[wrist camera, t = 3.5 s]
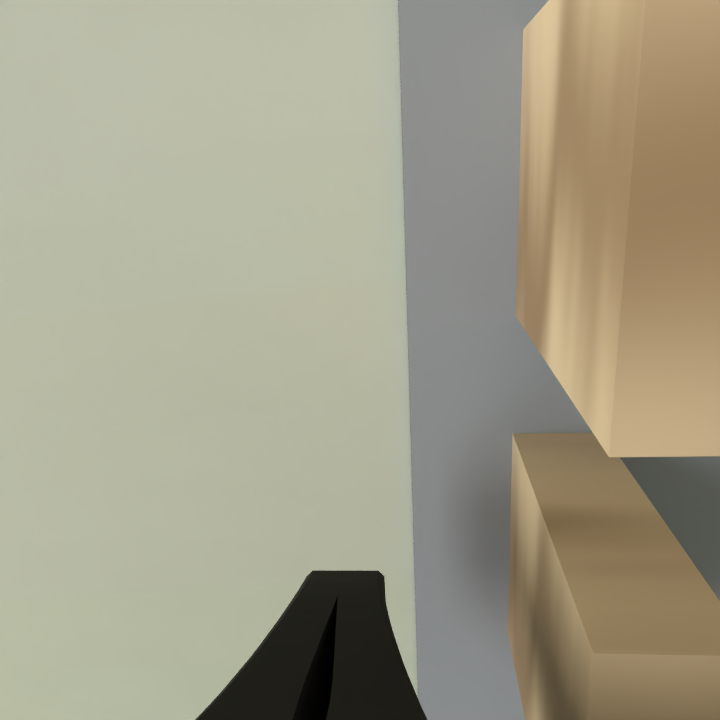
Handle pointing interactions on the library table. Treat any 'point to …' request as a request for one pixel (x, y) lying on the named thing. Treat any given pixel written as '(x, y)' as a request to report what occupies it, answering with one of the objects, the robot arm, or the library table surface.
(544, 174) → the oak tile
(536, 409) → the felt mat
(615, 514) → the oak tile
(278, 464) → the library table surface
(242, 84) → the library table surface
